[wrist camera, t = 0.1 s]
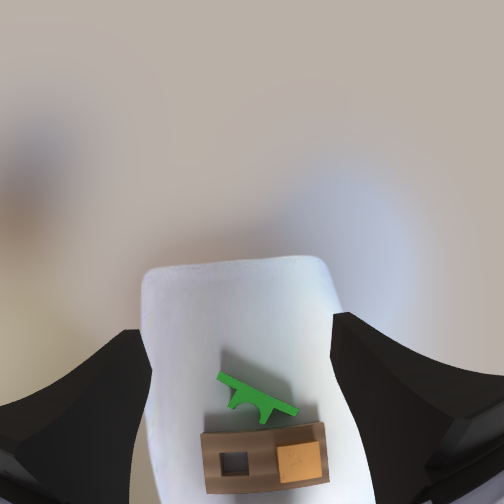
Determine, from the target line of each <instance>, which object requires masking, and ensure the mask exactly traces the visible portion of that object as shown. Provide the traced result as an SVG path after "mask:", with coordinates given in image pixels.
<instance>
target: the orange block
mask: <svg viewBox="0 0 504 504" xmlns="http://www.w3.org/2000/svg"><path fill="white" fill-rule="evenodd" d="M276 453H277V462H278V472H279V479H280V482H281V483H286V482H293V481H300V480H306V479H312V478H318V477H322V469H321V459H320V449H319V441H318V440H316V439H308V440H302V441H295V442H288V443H280V444H276Z"/></svg>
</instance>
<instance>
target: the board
mask: <svg viewBox="0 0 504 504" xmlns="http://www.w3.org/2000/svg"><path fill="white" fill-rule="evenodd" d="M200 436H201V447H202V457H203V466H204V475H205V484H206V492H207V494H239V493H256V492H268V491H277V490H286V489H293V488H300V487H306V486H312V485H317V484H323V483H327V482H330V480H329V469H328V458H327V447H326V438H325V428H324V423H323V422H313V423H307V424H300V425H293V426H286V427H278V428H268V429H258V430H245V431H228V432H204V433H202V434H200ZM308 439H316V440H318V441H319V449H320V459H321V469H322V477H318V478H312V479H306V480H300V481H293V482H286V483H281V482H280V479H279V472H278V462H277V453H276V444H280V443H288V442H295V441H302V440H308ZM246 451H247V456H248V465H249V471H237V472H224V468H223V458H222V453H227V452H246Z"/></svg>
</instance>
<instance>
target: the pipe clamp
mask: <svg viewBox="0 0 504 504" xmlns="http://www.w3.org/2000/svg"><path fill="white" fill-rule="evenodd" d="M216 379H218V380H220V381H221V382H223V383H225V384H227V385H229V386H231V387H233V388H235V389H237V390H236V392H235V394H234V396H233V397H232V399H231V401H230V403H229V404H228V406H227V407H229V408H231V409H235V408H236V406H237V405H239V404H240V403H243V402H249V403H252V404H254V405H255V406H257V407H258V409H259V411H260V419H259V423H261V424H263V425H265V423H266V421H267V419H268V418H269V416H270V414H271V412H272V410H273V409H274V408H276V409H278V410H280V411H282V412H285V413H287V414H289V415H292V416H294V417H295V416H296V415H297V413H298V411H299V409H297V408H295V407H293V406H290V405H288V404H286V403H284V402H281V401H279V400H277V399H275V398H273V397H271V396H268V395H266V394H264V393H262V392H260V391H258V390H256V389H254V388H252V387H250V386H248V385H246V384H244V383H242V382H240V381H238V380H236V379H234V378H232V377H230V376H228V375H227V374H225V373H223V372H221V371H220V373H219V375H218V377H217V378H216Z"/></svg>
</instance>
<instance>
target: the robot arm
mask: <svg viewBox="0 0 504 504" xmlns="http://www.w3.org/2000/svg"><path fill="white" fill-rule="evenodd" d="M330 359H331V363H332V367H333V370H334V373H335V377H336V380H337V382H338V384H339V386H340V389H341V391H342V393H343V395H344V398H345V400H346V402H347V404H348V406H349V409H350V411H351V413H352V415H353V418H354V420H355V422H356V425H357V427H358V430H359V433H360V436H361V440H362V443H363V447H364V450H365V454H366V458H367V462H368V466H369V470H370V475H371V479H372V484H373V489H374V495H375V501H376V504H504V376H501V375H491V374H483V373H478V372H473V371H468V370H464V369H460V368H456V367H453V366H450V365H447V364H444V363H441V362H438V361H435V360H433V359H430V358H428V357H426V356H423V355H421V354H419V353H416V352H414V351H412V350H410V349H409V348H407V347H405V346H403V345H401V344H399V343H398V342H396V341H394V340H392V339H391V338H389V337H387V336H386V335H384V334H382V333H381V332H379V331H378V330H376V329H375V328H373V327H372V326H370V325H369V324H367V323H365V322H364V321H363V320H361V319H360V318H358V317H356V316H355V315H353V314H352V313H350V312H344V313H337V314H333V326H332V338H331V349H330ZM151 376H152V368H151V365H150V362H149V359H148V356H147V353H146V350H145V347H144V344H143V341H142V337H141V334H140V331H139V329H137V330H136V329H135V330H123V331H122V332H121V333H119V334H118V335H117V336H115V337H114V338H113V339H112V340H110V341H109V342H108V343H107V344H105V345H104V346H103V347H102V348H101V349H99V350H98V351H97V352H96V353H95V354H93V355H92V356H91V357H90V358H89V359H87V360H86V361H84V362H83V363H82V364H81V365H79V366H78V367H76V368H75V369H74V370H72V371H71V372H70V373H68V374H67V375H65V376H64V377H62V378H61V379H59V380H57V381H56V382H54V383H53V384H51V385H50V386H47V387H45V388H43V389H42V390H39V391H37V392H35V393H33V394H31V395H29V396H27V397H25V398H22V399H20V400H17V401H15V402H12V403H9V404H6V405H3V406H0V504H129V486H130V484H129V483H130V473H131V463H132V455H133V448H134V443H135V439H136V435H137V431H138V428H139V424H140V421H141V418H142V414H143V411H144V408H145V404H146V401H147V398H148V394H149V389H150V383H151Z"/></svg>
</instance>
